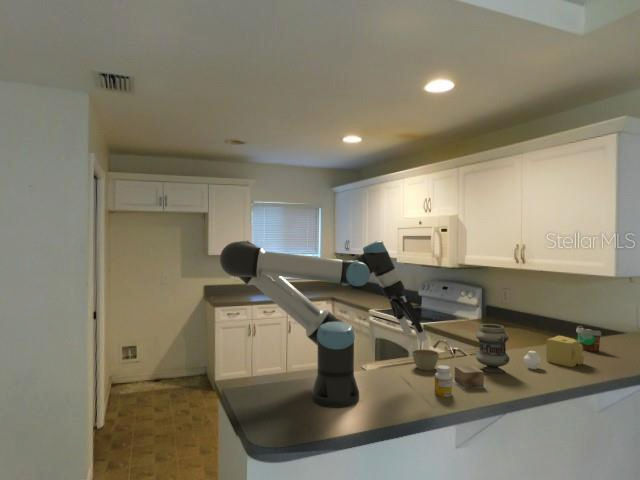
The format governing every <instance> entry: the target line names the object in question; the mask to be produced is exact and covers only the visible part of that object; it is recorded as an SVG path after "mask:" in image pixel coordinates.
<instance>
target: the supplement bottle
mask: <svg viewBox="0 0 640 480" xmlns="http://www.w3.org/2000/svg"><path fill="white" fill-rule="evenodd" d="M436 366H437V367H436V373H435V374H434V394H435V395H436V396H439V397H444V398H447V397H452V396H453V381H452V380H453V375H452V374H451V368H450V366H449V365H436Z"/></svg>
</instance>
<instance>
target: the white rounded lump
mask: <svg viewBox="0 0 640 480" xmlns="http://www.w3.org/2000/svg"><path fill="white" fill-rule="evenodd" d="M523 360H524V363H525V365H526V366H527V368H528V369H530V370H537V369H538V368H539V366H540V365H541V362H542V359H541V358H540V356H539V355H538V352H537V351H534V350H530V351H527V354H526V355H524V357H523Z"/></svg>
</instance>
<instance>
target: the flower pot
mask: <svg viewBox="0 0 640 480" xmlns="http://www.w3.org/2000/svg"><path fill="white" fill-rule="evenodd" d="M439 356H440V353H439V352H438V351H436V350H432V349H415V350H413V351H412V358H413V361H414V364H415V366H416V368H417V369H418V370H420V371H433V370H435V368H436V366H437V364H438V361H439Z"/></svg>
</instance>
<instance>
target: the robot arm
mask: <svg viewBox="0 0 640 480" xmlns="http://www.w3.org/2000/svg"><path fill="white" fill-rule="evenodd" d="M362 251H363V253H362V254H360V255H358V256H355V257H354V258H352V259H350V260H348V259H345V260H344V259H336V258H327V257H318V256H312V255H311V256H310V255H303V254H301V255H299V254H293V253H292V254H290V253H283V252H276V251H275V252H274V251H265V250H264V248H263V247H258V246H257V245H255V244H254V243H253V242H252V243H251V242H250V241H248V240H245V241H244V240H242V241H241V240H240V241H233V242H231V243H229V244H227V245H226V246H225V247H224V248H223V249H222V250H221V252H220V256H219V264H220V266H221V269H222V270H223V271H224V272H225V274H228V275H229V276H231V277H236V278H237V277H238V279H240V280H241V281H242V282H244V284H246V285H247V286H254V287H256V288H257V289H258V290H260V292H262V293H263V294H264V295H265V296H266V297H267V298H268V299H270V300H271V301H272V302H273V303H275V304H276V305H277V306H278V307H279V308H280V309H281V310H283V311H284V313H286V314H287V315H288V316H290V318H291V319H293V320H294V322H295V321H296V323H298V325H300V326H301V327H302V328H303V329H304V330H305V334H306V337H307V338H308V339H309V340H311V342H312V343H314V344H315V345H316V346H317V372H316V373H317V374H316V378H315V380H314V383H313V387H312V389H311V399H312V400H311V401H313V402H314V403H316V404H317V405H319V406H321V407H322V406H323V407H327V408H344V407H345V408H348V407H351V406H353V405H356V404H357V403H358V402H360V391H359V386H358V383H357V381H356V378H355V374H354V373H355V372H354V371H355V339H356V338H355V337H356V336H355V331H354V328H353V326H352V325H351V324H349V323H346V322H344V321H343V320H341V319H340V318H337V317H336V316H335V315H334V314H332V312H330V311H329V310H322V309H320V308H319V307H318V306H316V305H315V303H313V302H312V301H311V300H310V299H309V298H307V296H306V295H304V294H303V293H302V292H301V291H300V290H298V289H297V288H296V287H295V286H294V285H293V284H291V283H290V282H289V281H288V280H287V279H285V278H289V279H290V278H291V279H297V280H298V279H300V280H308V281H317V282H327V283H335V284H341V285H342V286H349V285H351V286H354V287H362V286H365V284H367V283H368V281H369V280H370V279H371V278H370V277H371V274H374V276H375V278H376V280H377V283H378V285H379V287H381V292H382V293H383V295H384V297H385V298H387V299H388V301H389V304H390V308H391V310H392V314H393V317H394V318H396V320H397V321H398V323H399V325H400V327H401V329H402V331H403V332H402V333H404V336H405V337H407V336H410V335H411V334H413V331H412V329H411V327H413V330H414V332H415V334H416V336H417V338H418V340H419V342H420V343H423V342H425V341H427V340H428V339H429V337H428V336H427V334H426V332H425V329H424V328H423V326H422V323H421V322H422V318H421V316H420V315H419V313H418V312H417V310H416V308H415V307H414V306H413V304H412V302H411V301H410V299H409V298H408V296H407V294H405V295H403V293H402V292H403V291H405V285H404V284H403V282H402V280H401V279H400V276H399V273H398V272H399V270H398V269H397V268H396V267H395V265H394V263H393V260H392V258H391V256H390V254H389V251H388V250H387V248H386V246H385V245H384V243H383V241H381V240H376V241H374V242H372V243H369V244H367V245H366V246H364V247H363V248H362ZM406 316H407V318H408V319H409V321H410V322H411V325H409V322H408V321H407V319H406ZM410 326H411V327H410Z"/></svg>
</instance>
